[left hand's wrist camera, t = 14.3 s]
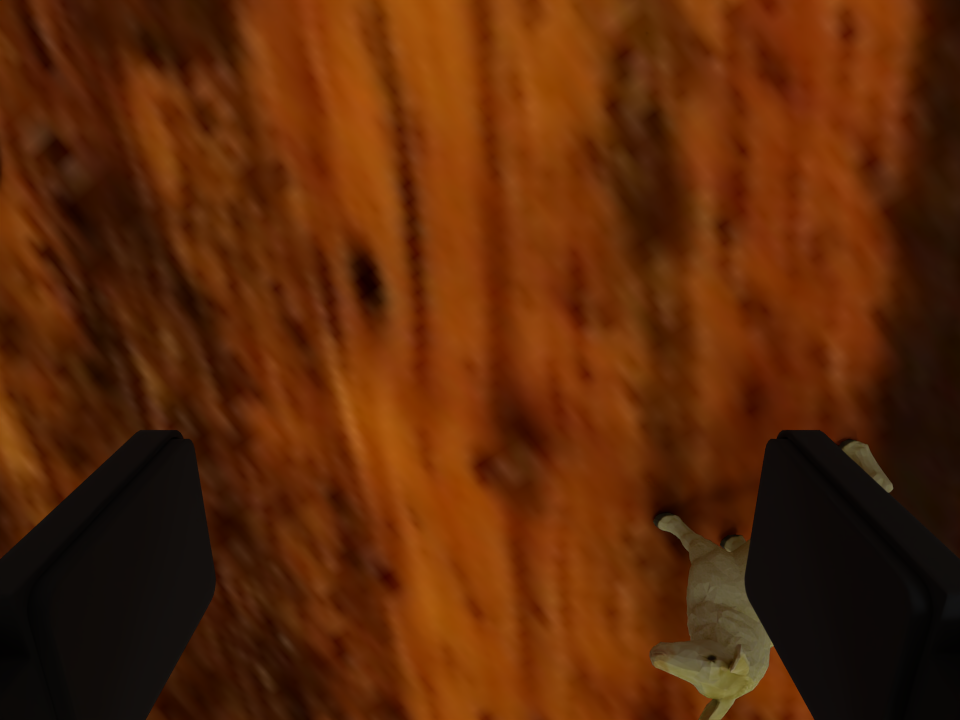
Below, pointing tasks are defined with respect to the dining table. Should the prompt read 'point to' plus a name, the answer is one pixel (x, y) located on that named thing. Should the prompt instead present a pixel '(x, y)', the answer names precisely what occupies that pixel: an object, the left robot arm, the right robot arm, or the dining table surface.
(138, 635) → the left robot arm
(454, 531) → the dining table surface
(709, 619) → the toy
